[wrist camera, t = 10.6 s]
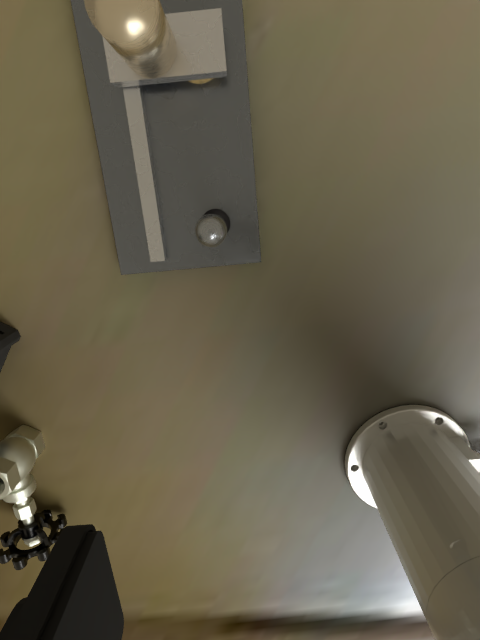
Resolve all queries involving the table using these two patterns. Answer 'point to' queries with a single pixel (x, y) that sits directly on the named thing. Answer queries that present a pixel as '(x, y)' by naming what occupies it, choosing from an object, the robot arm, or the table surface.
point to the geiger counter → (7, 341)
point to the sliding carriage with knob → (158, 42)
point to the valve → (24, 498)
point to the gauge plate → (176, 156)
